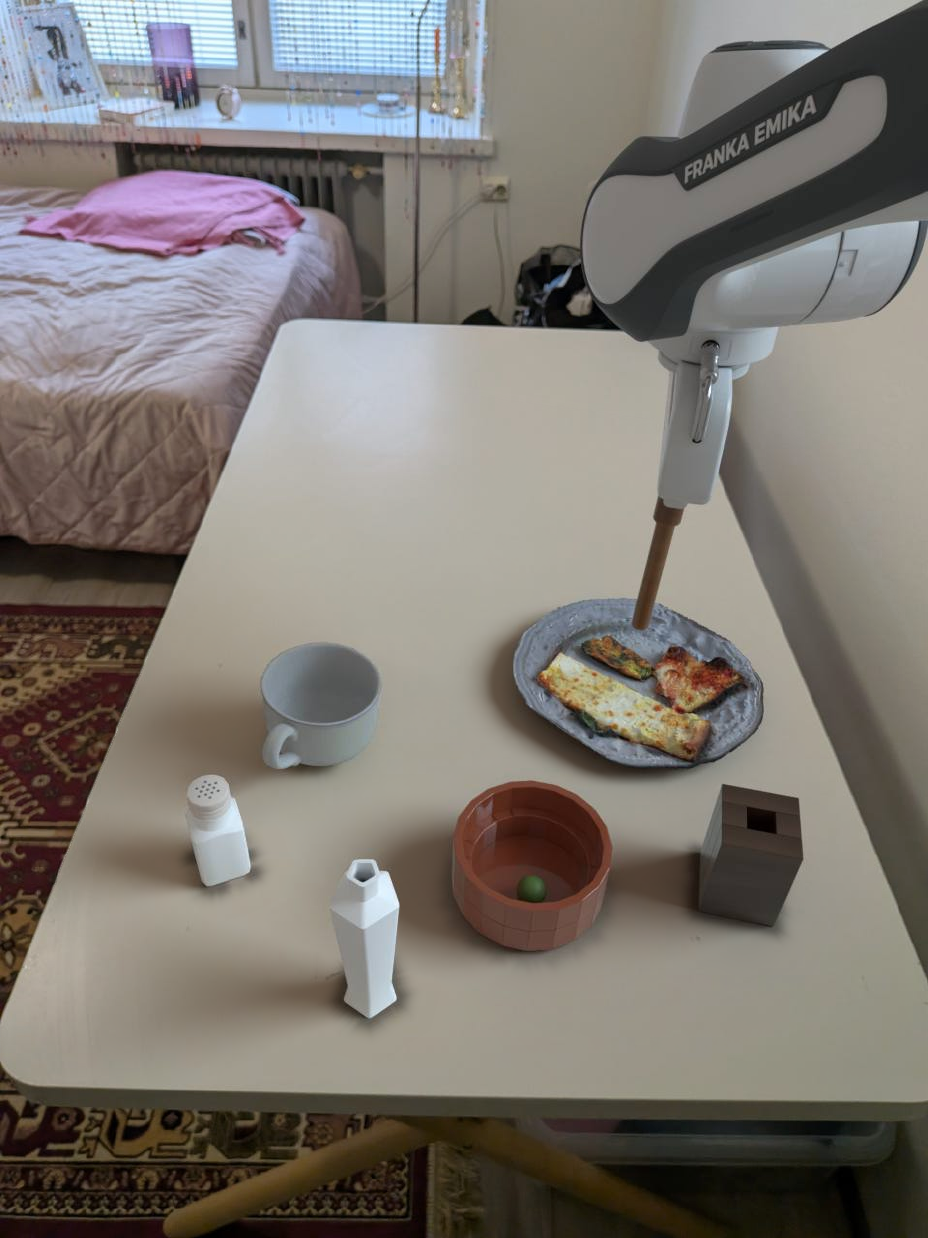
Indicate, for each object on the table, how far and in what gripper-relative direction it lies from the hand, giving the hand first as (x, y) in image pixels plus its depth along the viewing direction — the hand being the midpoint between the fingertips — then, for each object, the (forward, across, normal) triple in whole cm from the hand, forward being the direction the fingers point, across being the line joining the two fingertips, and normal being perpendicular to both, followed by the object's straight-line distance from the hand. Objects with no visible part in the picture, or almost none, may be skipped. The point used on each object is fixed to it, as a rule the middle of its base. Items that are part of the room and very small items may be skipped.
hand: (675, 490), depth 72 cm
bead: (+26, -20, +6) cm, 34 cm away
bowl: (+28, -18, +6) cm, 34 cm away
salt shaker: (+28, -22, +31) cm, 48 cm away
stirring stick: (+14, 0, +1) cm, 14 cm away
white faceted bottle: (+28, -30, +16) cm, 45 cm away
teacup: (+28, -8, +28) cm, 41 cm away
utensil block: (+28, -14, -11) cm, 33 cm away
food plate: (+28, +8, -1) cm, 30 cm away
